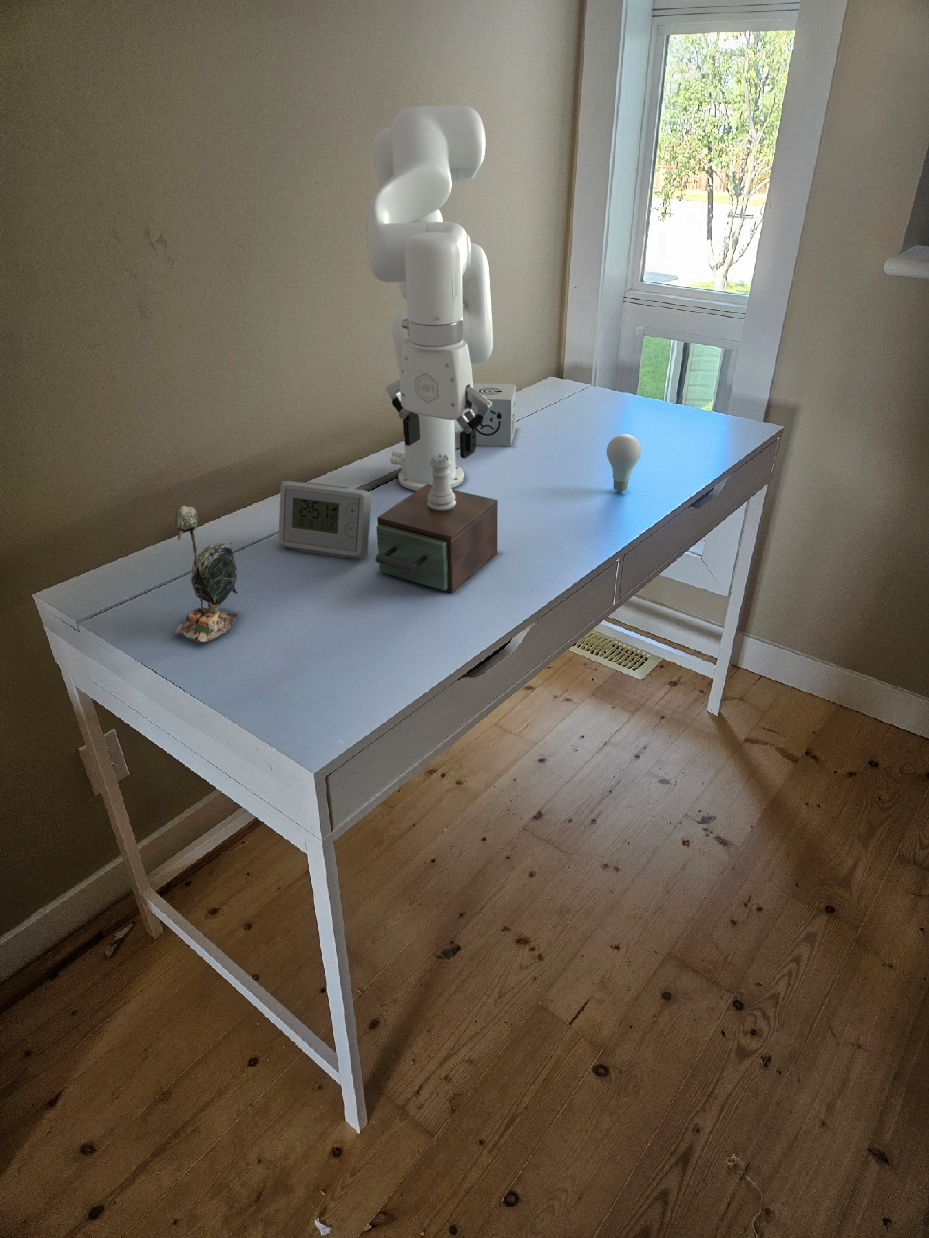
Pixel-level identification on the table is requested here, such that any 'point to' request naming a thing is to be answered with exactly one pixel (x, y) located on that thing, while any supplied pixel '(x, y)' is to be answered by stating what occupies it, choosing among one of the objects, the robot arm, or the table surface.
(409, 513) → the cabinet
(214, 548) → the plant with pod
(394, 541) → the drawer
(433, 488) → the rook chess piece
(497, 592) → the table surface
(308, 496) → the digital clock
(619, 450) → the lightbulb
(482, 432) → the icon cube
